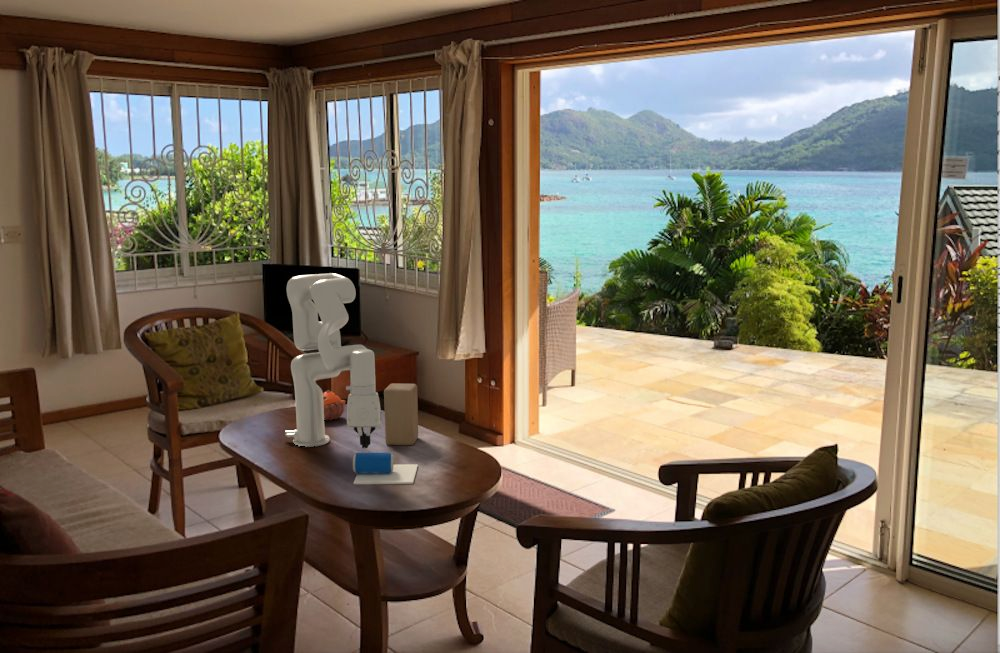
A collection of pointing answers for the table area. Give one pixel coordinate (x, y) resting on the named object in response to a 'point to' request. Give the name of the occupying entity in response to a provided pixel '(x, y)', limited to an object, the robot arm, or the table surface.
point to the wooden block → (401, 414)
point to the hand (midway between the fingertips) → (365, 446)
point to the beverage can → (373, 463)
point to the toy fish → (332, 406)
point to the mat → (390, 476)
